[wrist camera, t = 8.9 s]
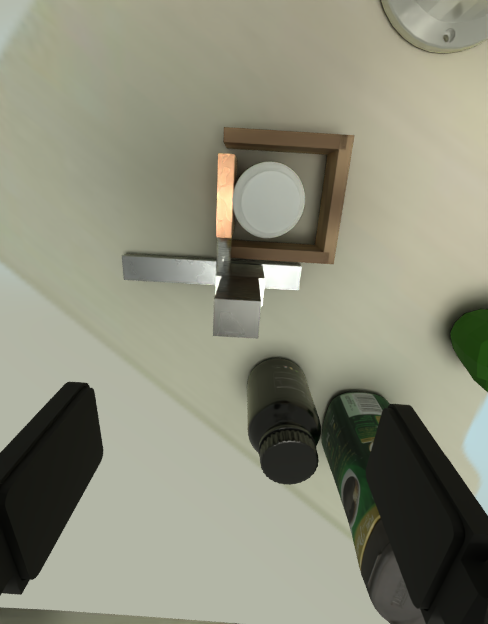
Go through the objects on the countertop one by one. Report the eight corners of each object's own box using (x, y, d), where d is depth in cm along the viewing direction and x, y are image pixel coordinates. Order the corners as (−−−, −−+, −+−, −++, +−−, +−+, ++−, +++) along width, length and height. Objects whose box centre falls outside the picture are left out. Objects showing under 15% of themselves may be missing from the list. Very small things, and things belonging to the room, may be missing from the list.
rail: (126, 253, 32) (121, 255, 31) (299, 264, 32) (301, 266, 31) (128, 276, 33) (123, 279, 31) (297, 286, 33) (298, 290, 32)
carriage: (224, 160, 28) (206, 139, 17) (269, 163, 28) (283, 144, 17) (220, 284, 32) (204, 335, 21) (260, 286, 32) (265, 338, 21)
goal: (227, 135, 28) (223, 127, 24) (340, 142, 28) (354, 135, 24) (223, 249, 31) (219, 257, 28) (323, 255, 31) (333, 264, 28)
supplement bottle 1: (230, 173, 29) (222, 165, 20) (289, 161, 28) (308, 147, 19) (241, 232, 31) (238, 250, 22) (296, 222, 30) (317, 236, 21)
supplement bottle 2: (290, 412, 38) (307, 504, 27) (238, 394, 38) (234, 481, 26) (316, 367, 36) (346, 447, 25) (261, 347, 35) (266, 420, 24)
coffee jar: (376, 453, 40) (472, 650, 23) (315, 448, 40) (365, 642, 23) (395, 390, 37) (524, 565, 20) (328, 384, 37) (398, 557, 20)
